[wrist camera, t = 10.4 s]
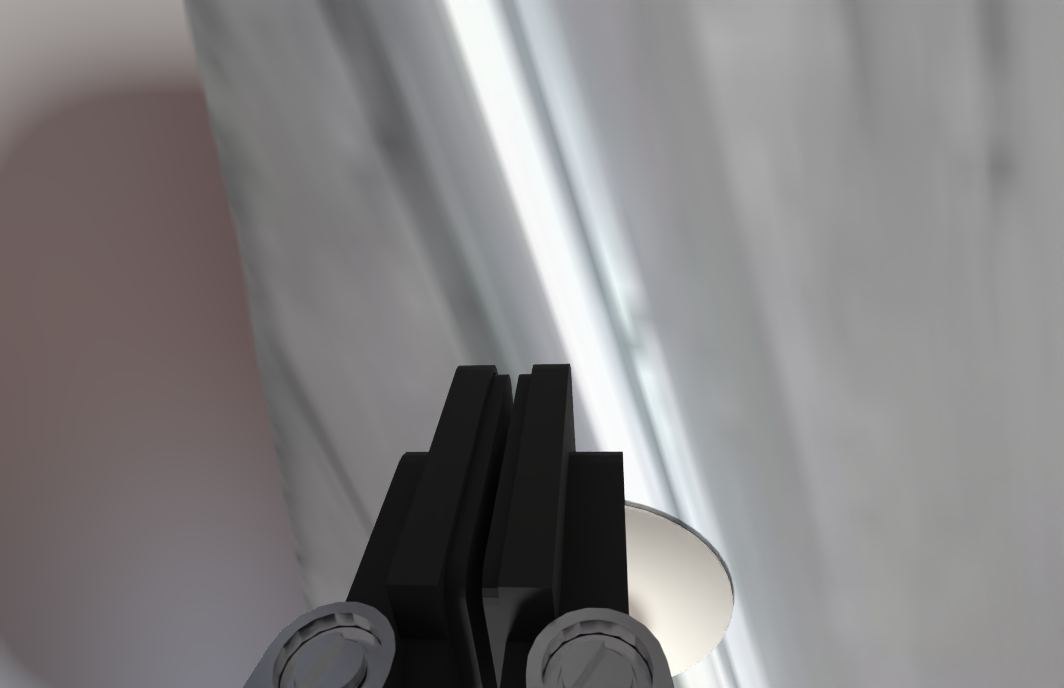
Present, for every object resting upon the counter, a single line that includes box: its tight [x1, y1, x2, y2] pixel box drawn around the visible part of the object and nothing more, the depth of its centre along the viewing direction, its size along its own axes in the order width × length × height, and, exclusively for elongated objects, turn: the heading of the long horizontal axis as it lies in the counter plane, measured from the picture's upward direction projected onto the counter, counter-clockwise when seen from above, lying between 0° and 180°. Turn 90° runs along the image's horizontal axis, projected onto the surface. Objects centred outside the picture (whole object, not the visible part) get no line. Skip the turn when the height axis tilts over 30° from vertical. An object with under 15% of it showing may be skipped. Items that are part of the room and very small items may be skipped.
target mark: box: [625, 505, 733, 677], centre depth 34 cm, size 14×14×1 cm
